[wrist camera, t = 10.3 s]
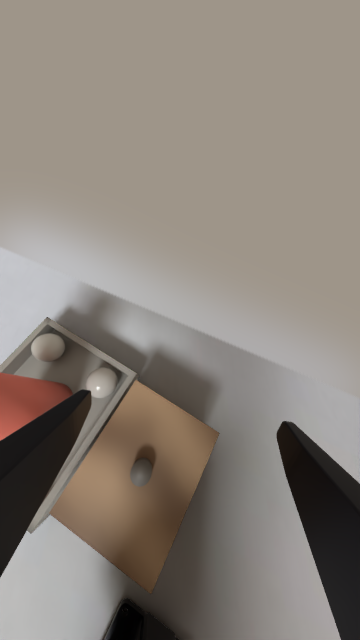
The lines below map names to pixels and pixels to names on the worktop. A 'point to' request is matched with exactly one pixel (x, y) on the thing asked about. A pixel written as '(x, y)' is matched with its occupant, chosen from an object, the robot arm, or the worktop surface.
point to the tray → (73, 374)
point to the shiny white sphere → (101, 382)
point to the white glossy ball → (48, 347)
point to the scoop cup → (26, 400)
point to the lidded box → (137, 483)
